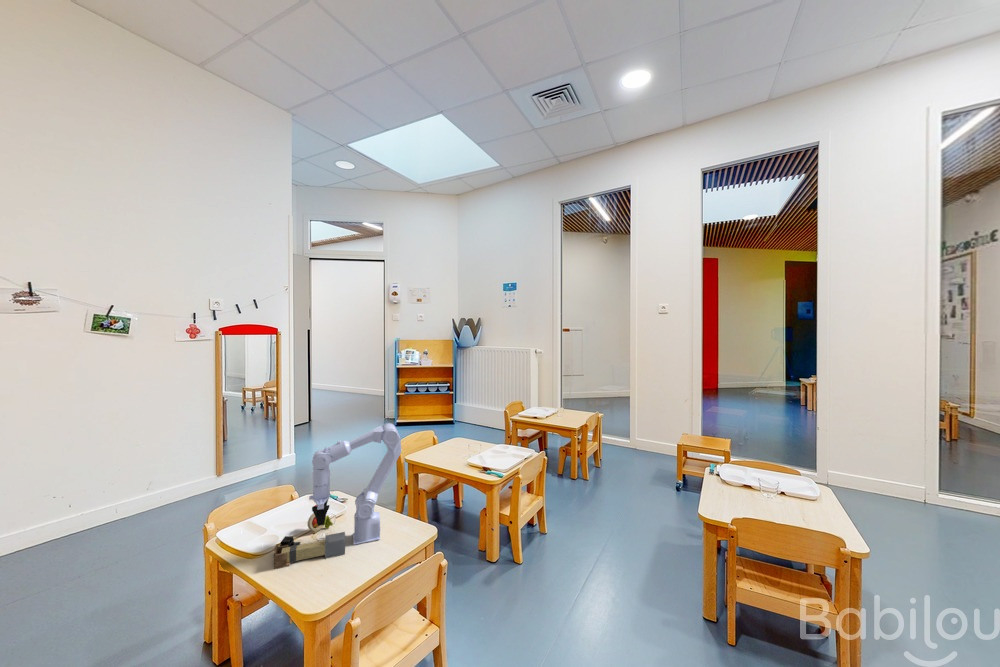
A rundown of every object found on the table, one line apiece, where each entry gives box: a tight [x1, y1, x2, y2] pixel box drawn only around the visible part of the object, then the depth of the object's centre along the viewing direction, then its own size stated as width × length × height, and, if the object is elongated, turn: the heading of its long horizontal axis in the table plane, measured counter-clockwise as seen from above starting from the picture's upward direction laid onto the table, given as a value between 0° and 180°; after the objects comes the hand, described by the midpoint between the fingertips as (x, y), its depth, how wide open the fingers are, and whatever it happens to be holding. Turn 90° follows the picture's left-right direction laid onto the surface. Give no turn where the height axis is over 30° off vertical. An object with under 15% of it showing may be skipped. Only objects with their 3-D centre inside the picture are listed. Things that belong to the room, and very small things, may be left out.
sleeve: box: [324, 531, 346, 559], centre depth 138 cm, size 6×5×6 cm
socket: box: [273, 544, 291, 570], centre depth 131 cm, size 5×5×6 cm
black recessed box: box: [272, 535, 301, 559], centre depth 139 cm, size 12×7×5 cm, turn 5°
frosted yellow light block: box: [281, 539, 325, 564], centre depth 134 cm, size 14×4×4 cm, turn 113°
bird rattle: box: [307, 504, 334, 534], centre depth 152 cm, size 6×11×9 cm
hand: (321, 519), depth 141 cm, fingers open, 7 cm apart
